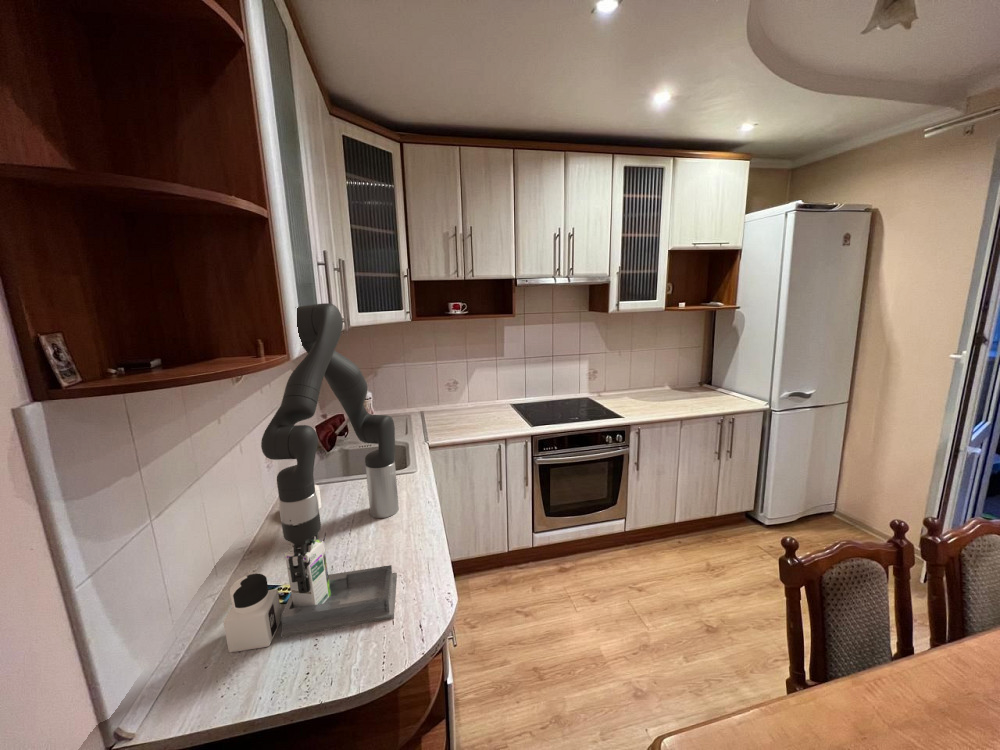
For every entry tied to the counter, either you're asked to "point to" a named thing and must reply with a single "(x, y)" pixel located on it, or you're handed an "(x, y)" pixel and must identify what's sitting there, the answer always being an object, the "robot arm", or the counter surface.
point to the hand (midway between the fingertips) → (309, 579)
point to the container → (252, 614)
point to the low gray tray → (346, 602)
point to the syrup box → (312, 578)
